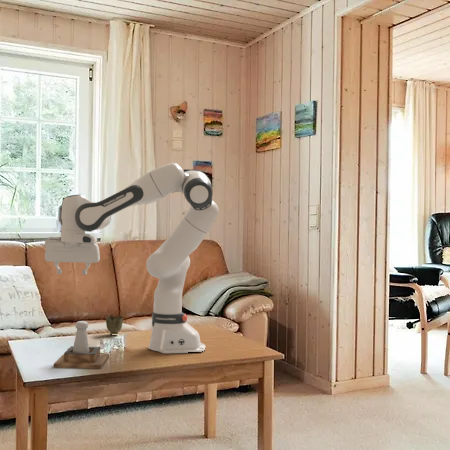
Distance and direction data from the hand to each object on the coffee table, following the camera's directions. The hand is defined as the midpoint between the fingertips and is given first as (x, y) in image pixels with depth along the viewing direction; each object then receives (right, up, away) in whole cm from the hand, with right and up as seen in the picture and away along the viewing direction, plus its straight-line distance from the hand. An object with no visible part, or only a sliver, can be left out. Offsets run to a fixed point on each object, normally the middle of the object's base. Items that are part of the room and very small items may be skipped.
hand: (71, 274), depth 221 cm
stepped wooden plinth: (+8, -30, -15) cm, 34 cm away
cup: (+10, -29, +31) cm, 44 cm away
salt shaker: (+7, -29, -15) cm, 33 cm away
